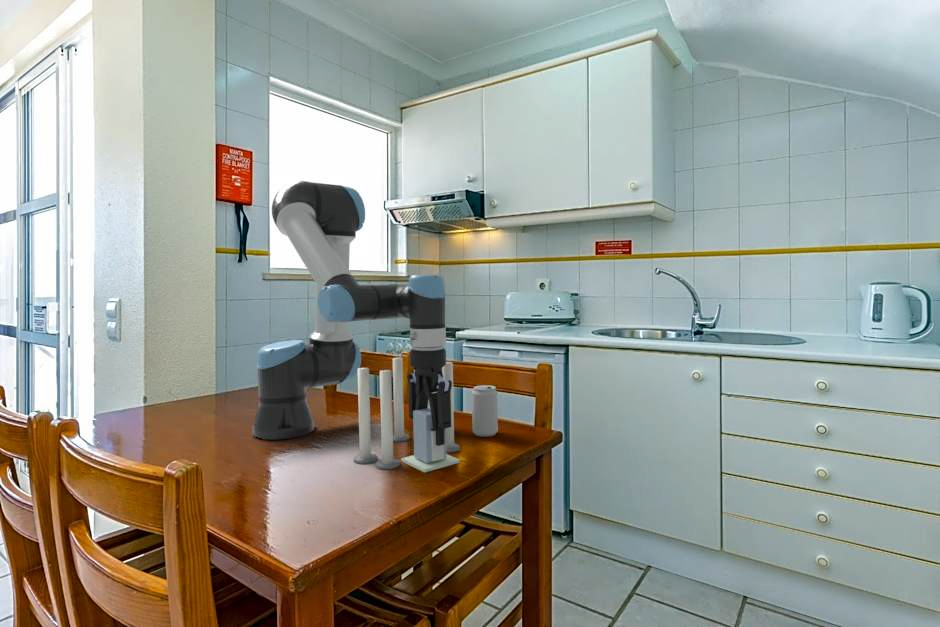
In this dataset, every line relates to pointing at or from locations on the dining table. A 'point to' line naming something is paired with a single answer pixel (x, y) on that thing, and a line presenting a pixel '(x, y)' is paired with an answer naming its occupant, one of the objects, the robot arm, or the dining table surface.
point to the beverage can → (484, 410)
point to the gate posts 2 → (387, 421)
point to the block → (424, 435)
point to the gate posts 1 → (364, 411)
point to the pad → (431, 465)
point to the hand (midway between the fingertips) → (430, 455)
